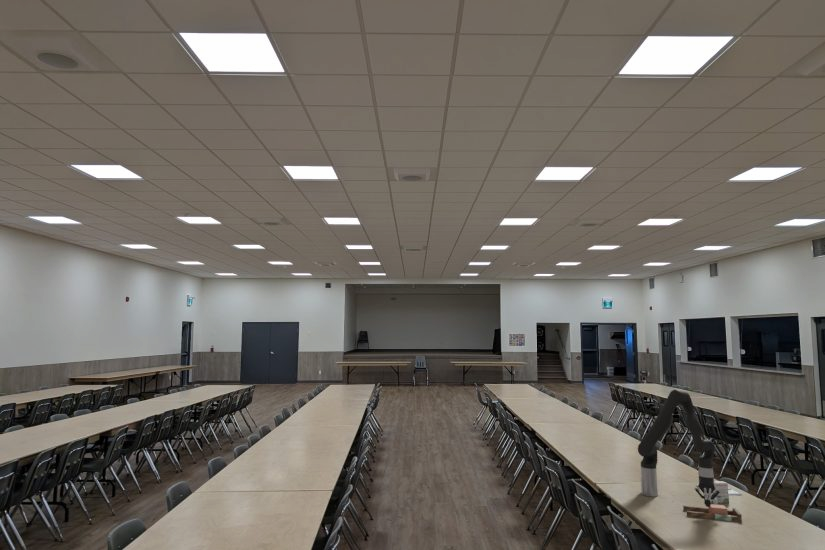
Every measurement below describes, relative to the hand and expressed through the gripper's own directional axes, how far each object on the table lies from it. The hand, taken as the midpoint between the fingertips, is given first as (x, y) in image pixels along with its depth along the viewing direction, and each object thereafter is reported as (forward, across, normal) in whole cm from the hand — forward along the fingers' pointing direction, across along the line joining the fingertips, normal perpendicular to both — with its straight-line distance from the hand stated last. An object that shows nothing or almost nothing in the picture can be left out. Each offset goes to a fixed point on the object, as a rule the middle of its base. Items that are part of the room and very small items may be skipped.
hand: (707, 506), depth 285 cm
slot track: (+5, +2, 0) cm, 5 cm away
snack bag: (+6, +18, +55) cm, 58 cm away
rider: (+5, +5, 0) cm, 7 cm away
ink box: (+5, +13, +30) cm, 33 cm away
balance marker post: (+5, +6, +10) cm, 13 cm away
